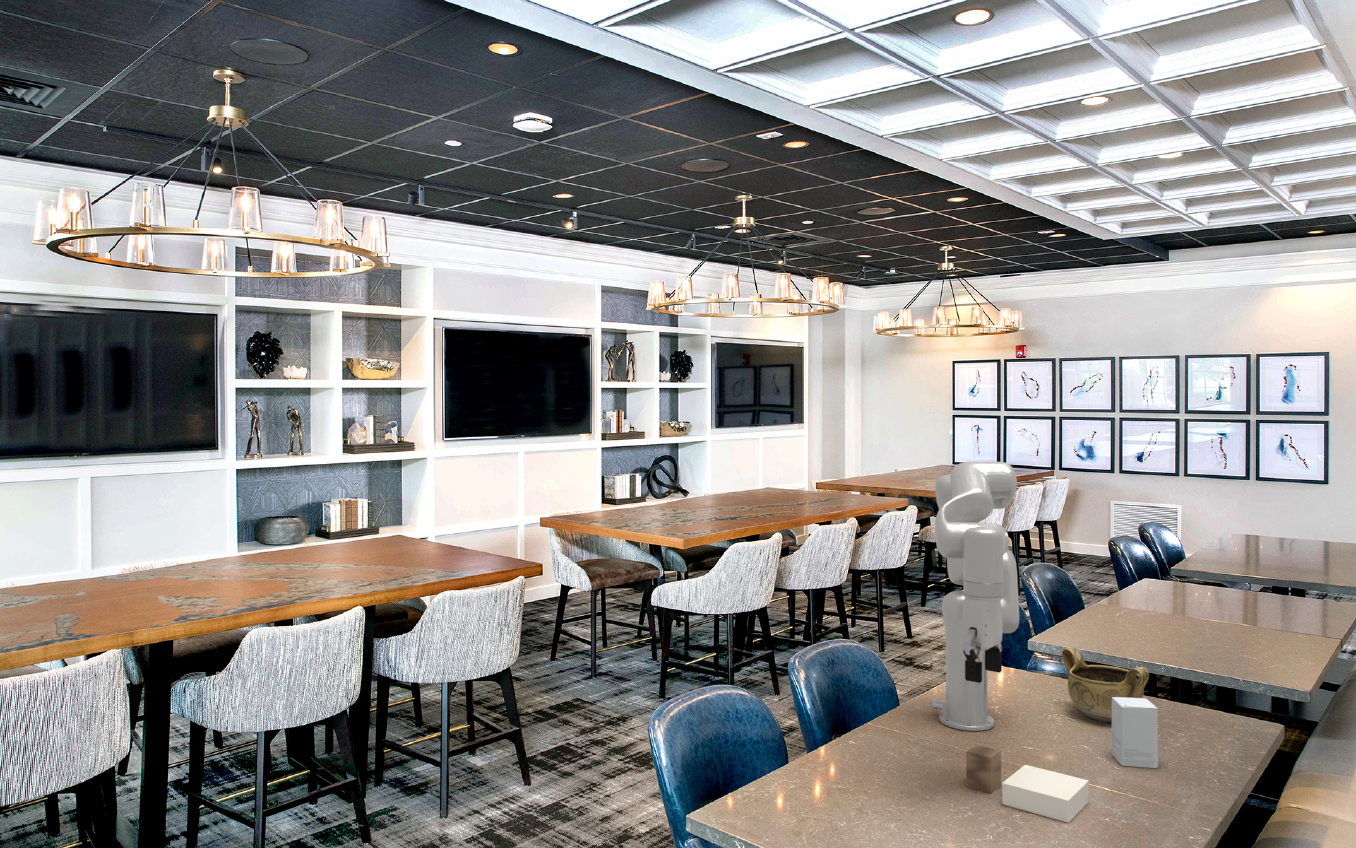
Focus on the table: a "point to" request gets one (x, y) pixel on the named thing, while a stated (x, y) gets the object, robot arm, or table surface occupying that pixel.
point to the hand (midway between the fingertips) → (983, 676)
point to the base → (1046, 793)
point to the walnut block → (983, 768)
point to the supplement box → (1135, 732)
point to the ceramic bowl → (1100, 684)
